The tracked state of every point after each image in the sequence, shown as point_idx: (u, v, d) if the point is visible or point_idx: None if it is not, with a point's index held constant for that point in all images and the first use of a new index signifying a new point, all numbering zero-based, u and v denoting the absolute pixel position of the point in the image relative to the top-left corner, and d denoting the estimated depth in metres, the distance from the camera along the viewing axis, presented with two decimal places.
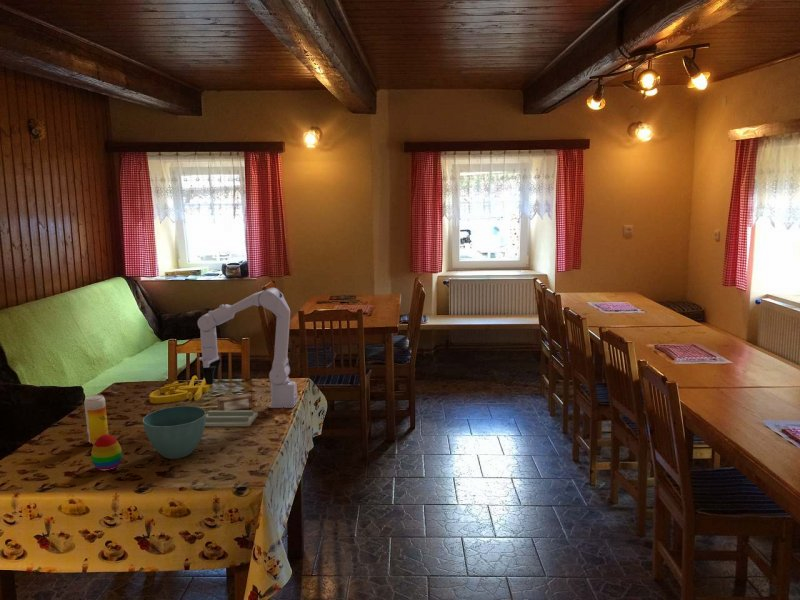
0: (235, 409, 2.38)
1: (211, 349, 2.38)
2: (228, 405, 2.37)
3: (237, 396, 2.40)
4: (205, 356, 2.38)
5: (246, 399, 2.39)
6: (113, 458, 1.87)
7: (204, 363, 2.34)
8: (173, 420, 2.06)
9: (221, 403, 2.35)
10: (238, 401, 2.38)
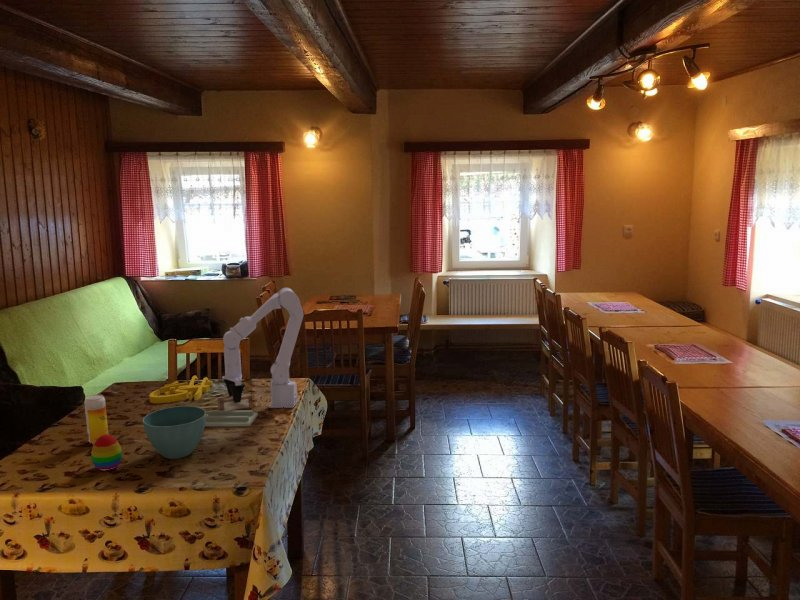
0: (235, 409, 2.38)
1: (238, 366, 2.35)
2: (228, 405, 2.37)
3: None
4: (231, 374, 2.35)
5: (246, 399, 2.39)
6: (113, 458, 1.87)
7: (237, 381, 2.31)
8: (173, 420, 2.06)
9: (221, 403, 2.35)
10: None
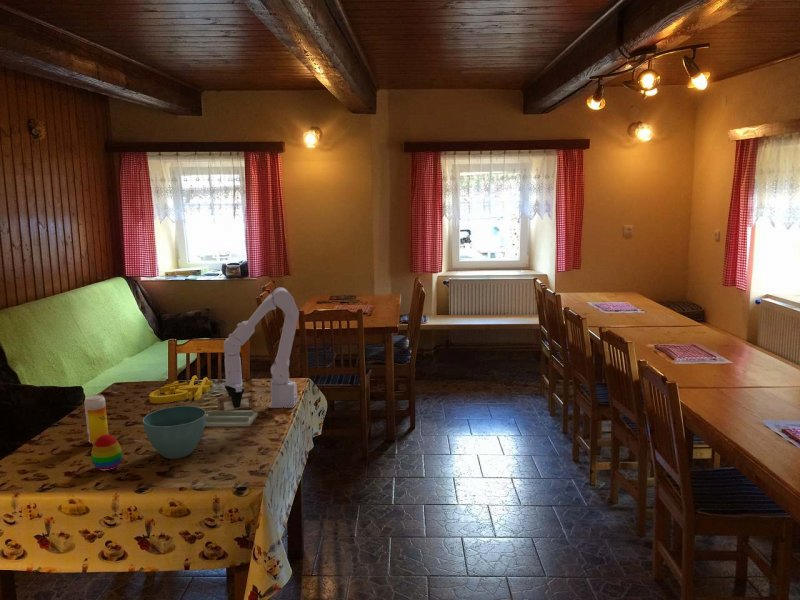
0: (235, 409, 2.38)
1: (238, 373, 2.36)
2: (228, 405, 2.37)
3: None
4: (232, 381, 2.35)
5: (246, 398, 2.39)
6: (113, 458, 1.87)
7: (237, 387, 2.32)
8: (173, 420, 2.06)
9: (221, 403, 2.35)
10: None
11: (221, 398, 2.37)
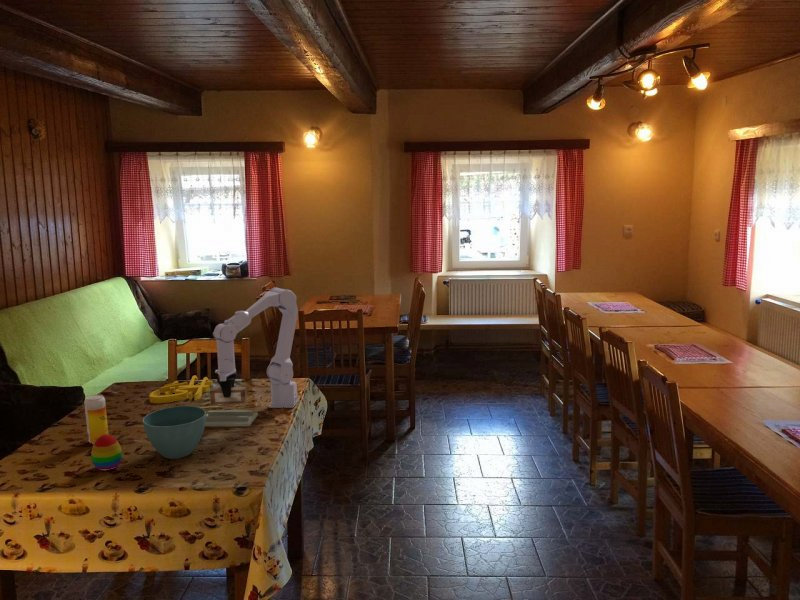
0: (226, 401, 2.28)
1: (228, 361, 2.25)
2: (219, 396, 2.27)
3: (231, 388, 2.29)
4: (221, 369, 2.25)
5: (238, 392, 2.27)
6: (113, 458, 1.87)
7: (221, 376, 2.20)
8: (173, 420, 2.06)
9: (212, 393, 2.27)
10: None
11: (214, 388, 2.29)
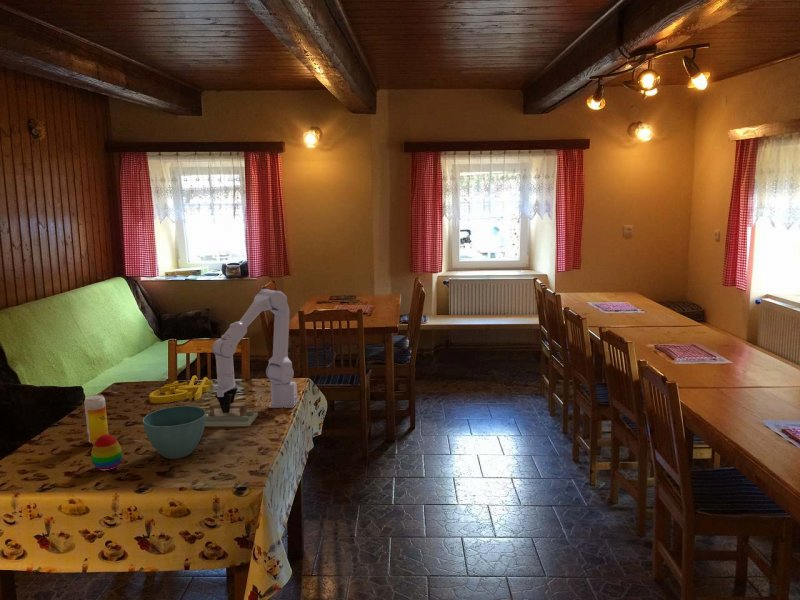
0: None
1: (227, 377, 2.23)
2: (218, 412, 2.26)
3: (231, 404, 2.27)
4: (220, 384, 2.23)
5: (237, 408, 2.25)
6: (113, 458, 1.87)
7: (218, 392, 2.19)
8: (173, 420, 2.06)
9: (211, 408, 2.26)
10: None
11: (214, 404, 2.27)
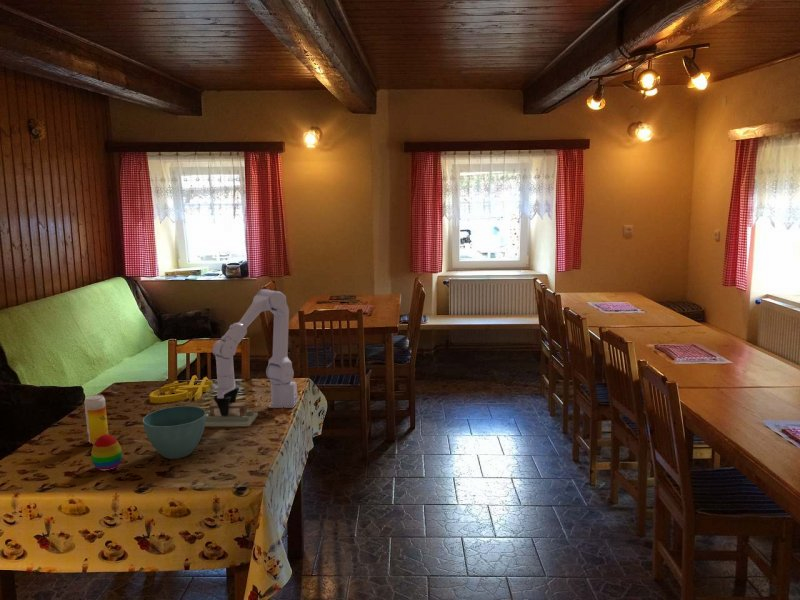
0: None
1: (227, 378, 2.23)
2: (218, 412, 2.26)
3: (231, 404, 2.27)
4: (220, 386, 2.23)
5: (237, 408, 2.25)
6: (113, 458, 1.87)
7: (218, 394, 2.19)
8: (173, 420, 2.06)
9: (211, 408, 2.26)
10: None
11: (214, 404, 2.27)
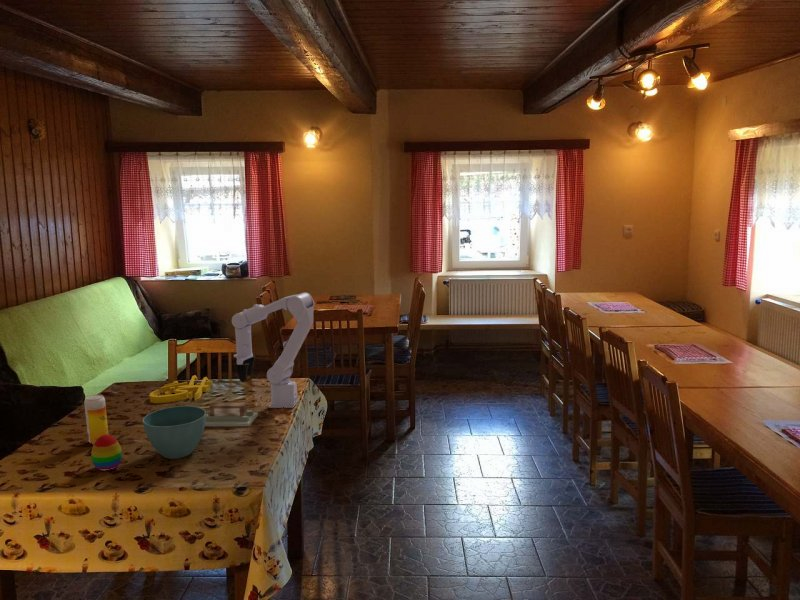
0: None
1: (245, 346, 2.42)
2: (218, 412, 2.26)
3: (231, 404, 2.27)
4: (239, 353, 2.42)
5: (237, 408, 2.25)
6: (113, 458, 1.87)
7: (238, 360, 2.38)
8: (173, 420, 2.06)
9: (211, 408, 2.26)
10: (228, 409, 2.25)
11: (214, 404, 2.27)
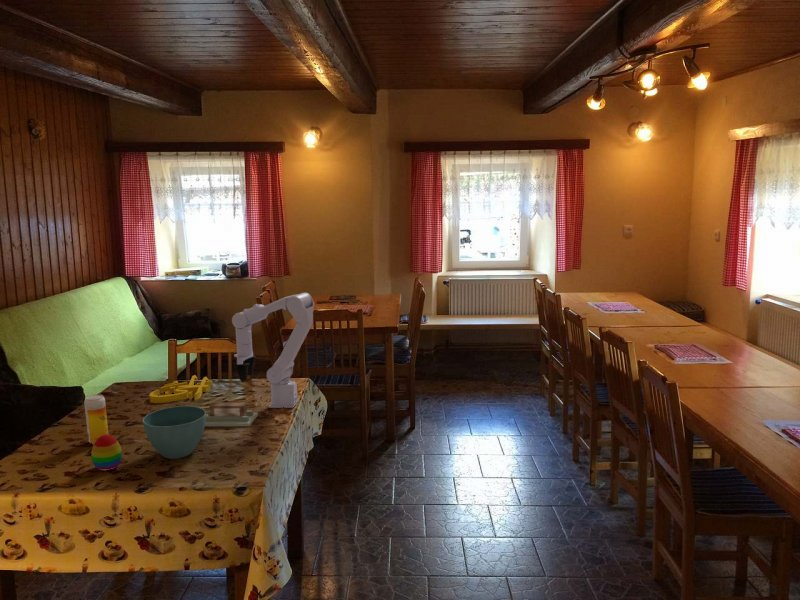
0: None
1: (245, 346, 2.42)
2: (218, 412, 2.26)
3: (231, 404, 2.27)
4: (239, 353, 2.43)
5: (237, 408, 2.25)
6: (113, 458, 1.87)
7: (238, 360, 2.38)
8: (173, 420, 2.06)
9: (211, 408, 2.26)
10: (228, 409, 2.25)
11: (214, 404, 2.27)
